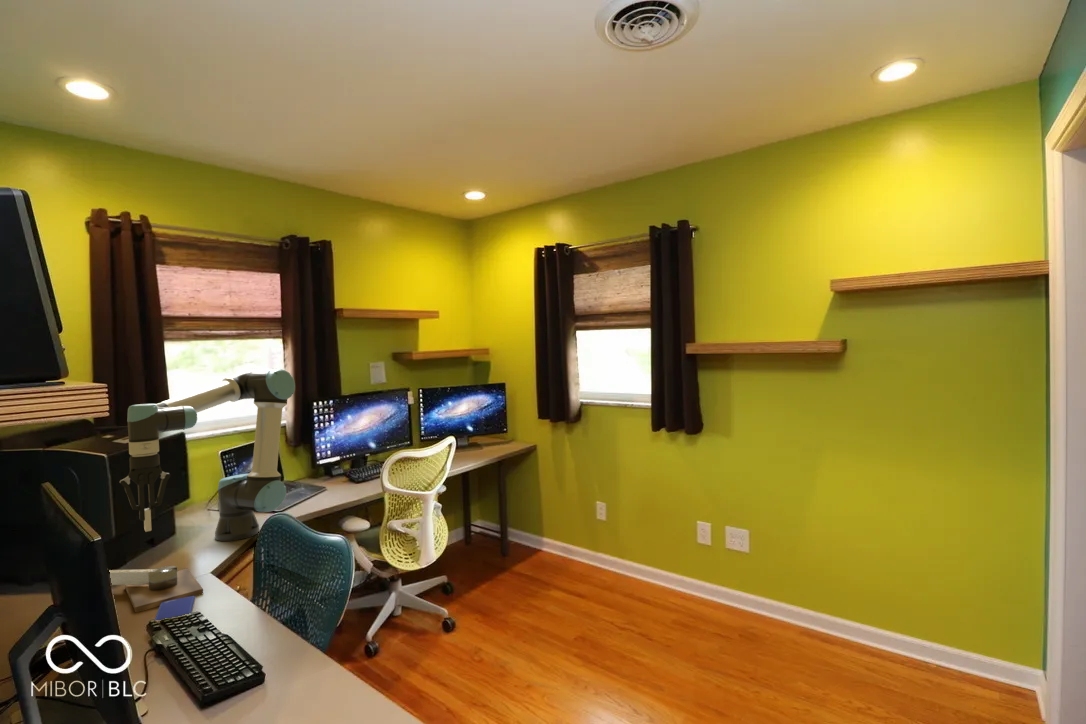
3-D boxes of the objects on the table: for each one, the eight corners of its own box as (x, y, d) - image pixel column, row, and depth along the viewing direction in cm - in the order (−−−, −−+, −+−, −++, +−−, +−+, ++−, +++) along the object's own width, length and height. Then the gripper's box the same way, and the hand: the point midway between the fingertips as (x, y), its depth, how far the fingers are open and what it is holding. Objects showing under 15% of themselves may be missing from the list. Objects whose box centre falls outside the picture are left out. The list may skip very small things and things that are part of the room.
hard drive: (160, 602, 153) (153, 620, 142) (195, 595, 157) (191, 612, 146) (160, 607, 153) (154, 626, 142) (195, 600, 157) (191, 618, 146)
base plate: (187, 572, 176) (187, 567, 176) (203, 593, 160) (203, 588, 160) (125, 588, 165) (124, 583, 165) (135, 612, 149) (135, 606, 149)
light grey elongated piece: (183, 579, 166) (182, 562, 166) (166, 590, 159) (166, 572, 159) (107, 581, 166) (106, 564, 166) (88, 591, 159) (87, 573, 159)
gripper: (119, 459, 161) (123, 538, 162) (172, 452, 170) (175, 527, 171) (116, 456, 167) (119, 532, 167) (167, 449, 176) (170, 522, 176)
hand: (147, 530), depth 169 cm, fingers closed
